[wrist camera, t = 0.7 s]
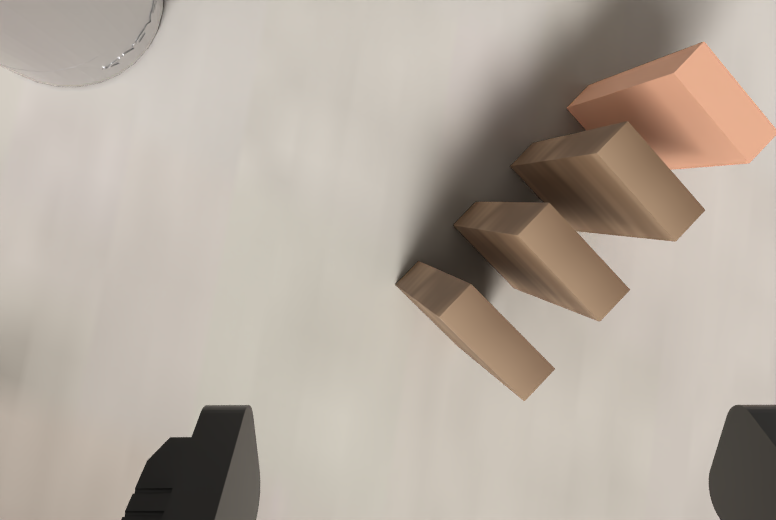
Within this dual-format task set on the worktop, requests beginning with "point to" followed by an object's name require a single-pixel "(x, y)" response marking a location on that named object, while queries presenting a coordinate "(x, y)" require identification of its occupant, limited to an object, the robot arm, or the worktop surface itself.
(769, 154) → the worktop surface
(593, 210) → the domino
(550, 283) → the domino
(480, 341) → the domino
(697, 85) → the domino
